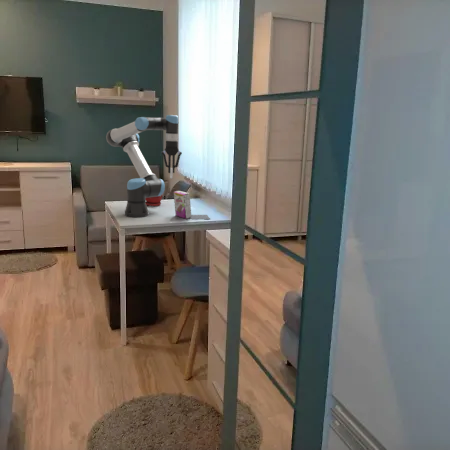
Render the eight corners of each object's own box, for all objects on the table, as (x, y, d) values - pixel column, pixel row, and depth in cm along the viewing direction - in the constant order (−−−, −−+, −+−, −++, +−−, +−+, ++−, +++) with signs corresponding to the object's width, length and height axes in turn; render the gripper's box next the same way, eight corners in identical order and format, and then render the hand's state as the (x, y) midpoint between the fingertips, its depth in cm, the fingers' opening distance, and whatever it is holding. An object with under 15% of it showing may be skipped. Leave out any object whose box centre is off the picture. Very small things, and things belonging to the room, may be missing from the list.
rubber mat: (190, 219, 280) (190, 218, 280) (187, 215, 292) (187, 214, 292) (210, 219, 283) (210, 218, 283) (206, 215, 295) (206, 214, 295)
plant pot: (150, 207, 310) (150, 190, 308) (141, 204, 320) (141, 188, 317) (166, 205, 319) (166, 189, 316) (156, 202, 328) (156, 186, 326)
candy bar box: (175, 216, 288) (172, 191, 283) (181, 214, 292) (179, 190, 286) (185, 219, 281) (183, 194, 275) (191, 217, 284) (190, 192, 279)
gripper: (161, 140, 268) (161, 178, 273) (183, 141, 270) (182, 179, 276) (160, 139, 275) (160, 177, 280) (181, 140, 278) (180, 177, 283)
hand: (171, 178), depth 278 cm, fingers closed
